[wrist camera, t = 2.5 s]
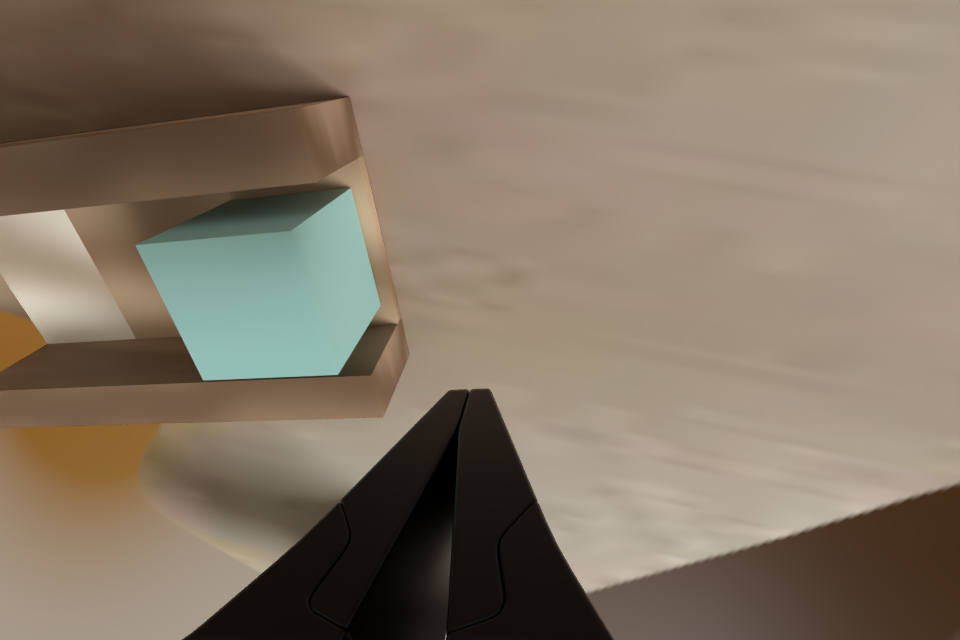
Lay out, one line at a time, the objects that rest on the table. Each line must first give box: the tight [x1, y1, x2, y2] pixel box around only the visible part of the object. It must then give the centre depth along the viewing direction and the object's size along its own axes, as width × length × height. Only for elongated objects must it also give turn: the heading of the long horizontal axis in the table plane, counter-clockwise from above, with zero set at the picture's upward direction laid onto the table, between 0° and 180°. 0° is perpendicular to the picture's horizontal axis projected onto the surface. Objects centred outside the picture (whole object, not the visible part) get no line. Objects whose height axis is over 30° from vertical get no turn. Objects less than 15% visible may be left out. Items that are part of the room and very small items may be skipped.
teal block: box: [135, 188, 381, 380], centre depth 17 cm, size 5×5×5 cm
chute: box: [0, 97, 409, 428], centre depth 19 cm, size 11×18×4 cm, turn 97°
